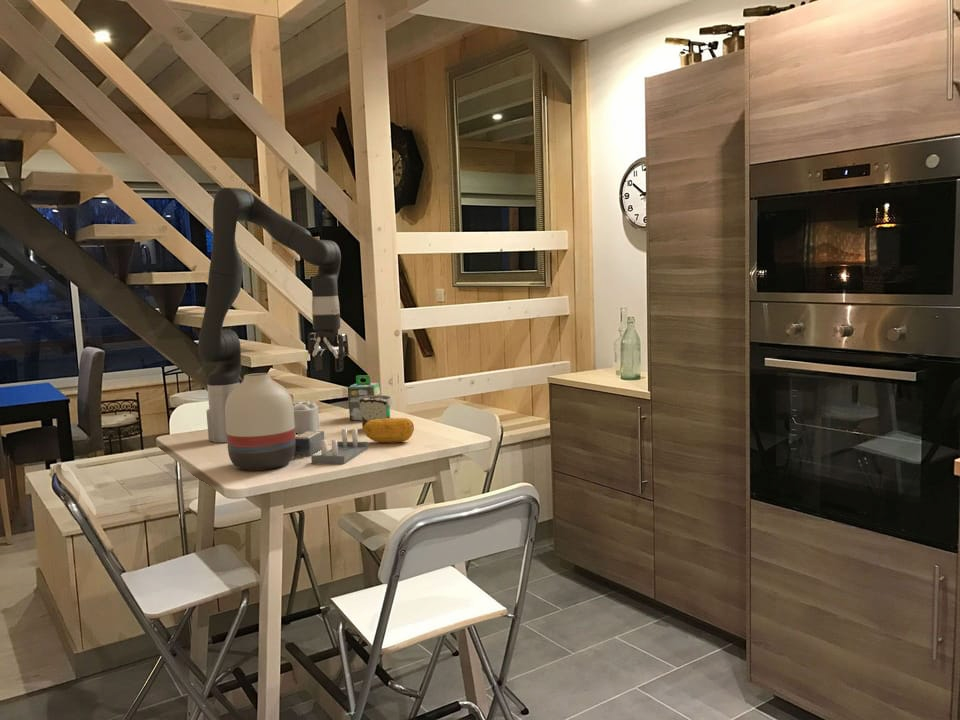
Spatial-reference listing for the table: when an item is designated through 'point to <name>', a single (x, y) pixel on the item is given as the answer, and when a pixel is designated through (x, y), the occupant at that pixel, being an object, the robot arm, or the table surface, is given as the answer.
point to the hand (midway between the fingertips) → (329, 370)
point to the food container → (374, 407)
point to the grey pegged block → (340, 450)
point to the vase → (260, 424)
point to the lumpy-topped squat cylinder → (306, 417)
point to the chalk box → (360, 394)
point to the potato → (389, 430)
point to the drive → (308, 443)
